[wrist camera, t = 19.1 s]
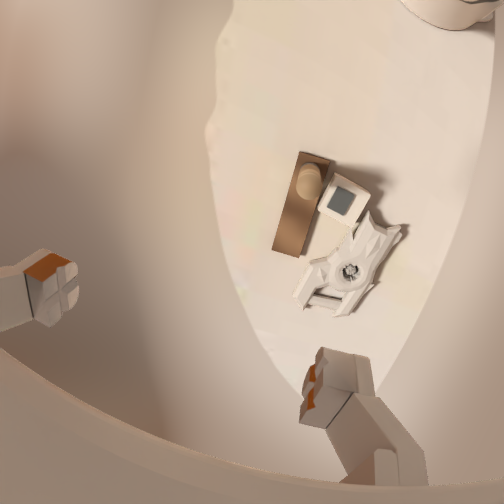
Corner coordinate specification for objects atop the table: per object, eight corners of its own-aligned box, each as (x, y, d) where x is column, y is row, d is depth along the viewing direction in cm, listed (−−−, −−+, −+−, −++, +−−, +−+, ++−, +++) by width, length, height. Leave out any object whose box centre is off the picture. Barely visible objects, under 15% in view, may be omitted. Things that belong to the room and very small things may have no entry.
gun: (344, 202, 37) (410, 234, 37) (342, 194, 40) (403, 225, 40) (286, 310, 46) (345, 332, 46) (288, 296, 49) (344, 319, 49)
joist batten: (299, 151, 39) (299, 152, 38) (329, 160, 39) (329, 161, 38) (272, 247, 45) (271, 249, 44) (299, 255, 45) (298, 258, 44)
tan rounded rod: (302, 159, 38) (300, 171, 30) (322, 165, 38) (325, 179, 30) (297, 178, 39) (293, 195, 31) (316, 184, 39) (317, 203, 31)
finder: (334, 172, 39) (336, 176, 36) (367, 189, 39) (371, 195, 36) (317, 204, 41) (317, 211, 38) (349, 221, 42) (352, 229, 38)
